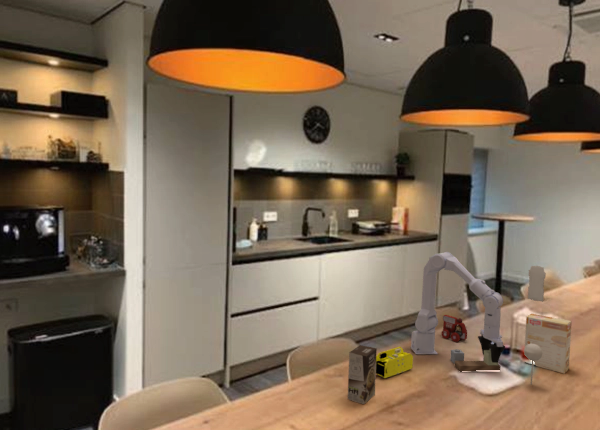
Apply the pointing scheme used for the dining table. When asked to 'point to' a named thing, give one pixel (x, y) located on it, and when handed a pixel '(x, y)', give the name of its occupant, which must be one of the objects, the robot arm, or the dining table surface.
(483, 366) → the walnut base brick
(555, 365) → the coffeecake box
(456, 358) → the slate block
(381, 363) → the yellow toy machine
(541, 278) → the dispenser
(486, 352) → the sage block
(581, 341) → the dining table surface
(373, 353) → the coffee box
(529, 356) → the lollipop
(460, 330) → the toy fire truck
